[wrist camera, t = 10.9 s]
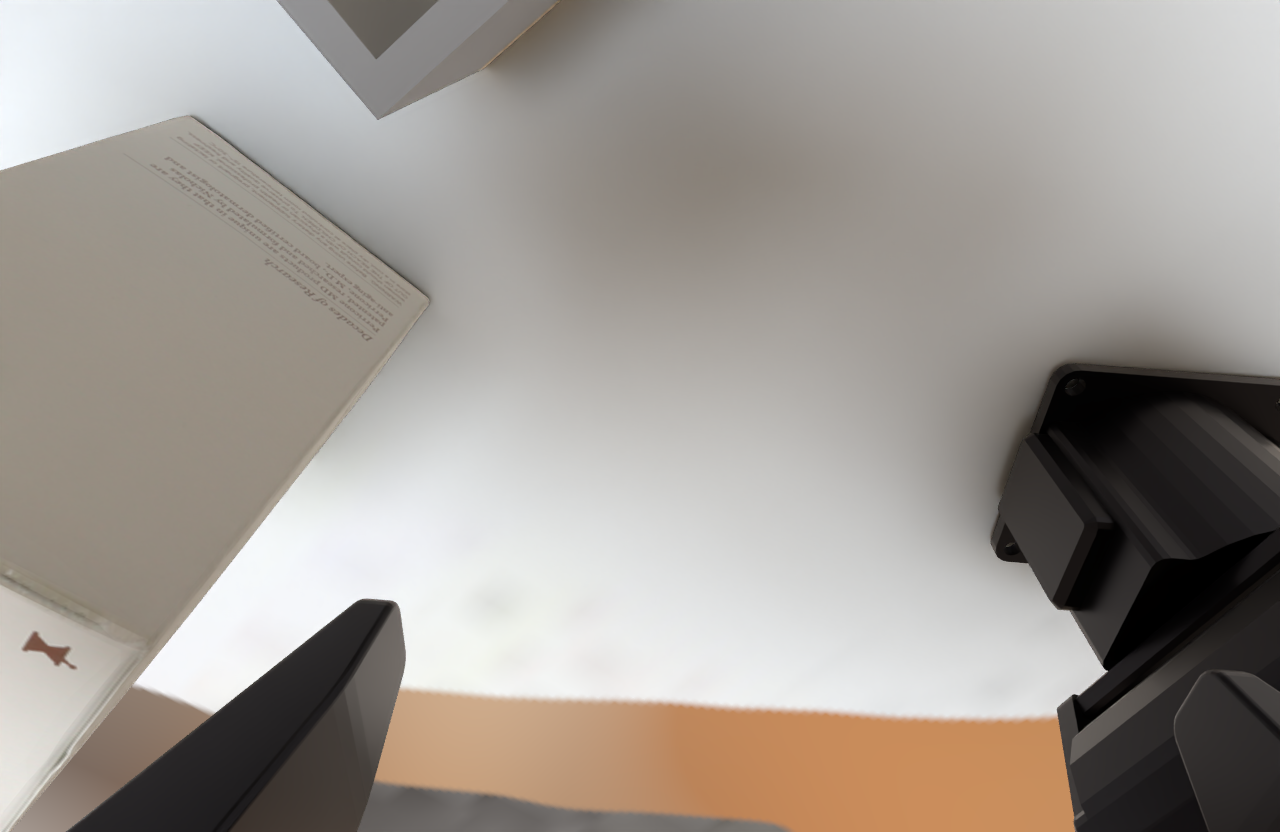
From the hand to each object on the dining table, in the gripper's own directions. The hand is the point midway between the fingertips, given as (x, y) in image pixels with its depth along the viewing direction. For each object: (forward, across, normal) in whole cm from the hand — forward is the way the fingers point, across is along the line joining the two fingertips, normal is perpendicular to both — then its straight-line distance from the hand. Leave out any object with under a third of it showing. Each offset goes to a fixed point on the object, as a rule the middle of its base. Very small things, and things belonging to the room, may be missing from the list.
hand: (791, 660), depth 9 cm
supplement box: (+13, +13, +2) cm, 19 cm away
